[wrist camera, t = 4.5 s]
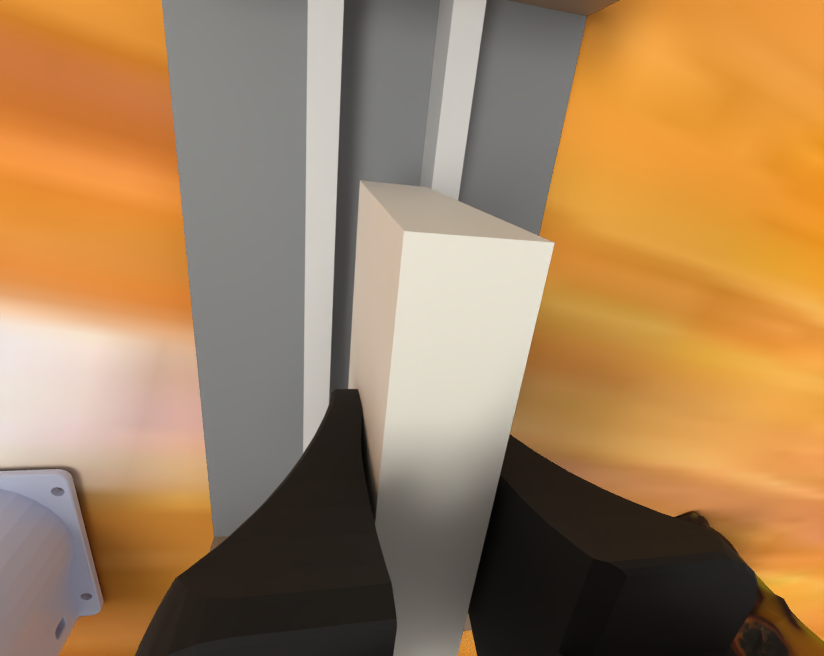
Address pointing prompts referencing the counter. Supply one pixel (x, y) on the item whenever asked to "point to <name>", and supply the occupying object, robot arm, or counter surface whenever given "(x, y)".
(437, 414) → the door panel
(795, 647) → the black and yellow cube
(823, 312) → the counter surface
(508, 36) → the cabinet base
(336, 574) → the robot arm
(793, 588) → the counter surface
